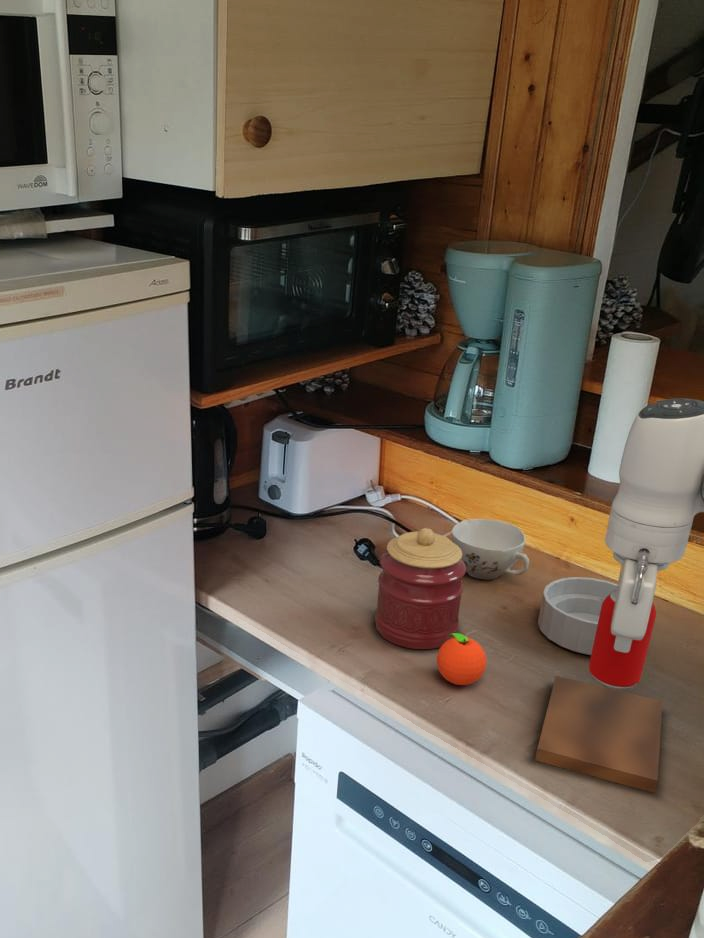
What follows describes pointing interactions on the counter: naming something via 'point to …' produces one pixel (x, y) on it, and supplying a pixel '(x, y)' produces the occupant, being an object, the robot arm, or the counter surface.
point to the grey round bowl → (573, 611)
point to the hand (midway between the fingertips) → (623, 634)
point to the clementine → (461, 660)
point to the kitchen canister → (419, 590)
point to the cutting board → (602, 733)
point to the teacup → (490, 547)
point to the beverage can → (615, 664)
